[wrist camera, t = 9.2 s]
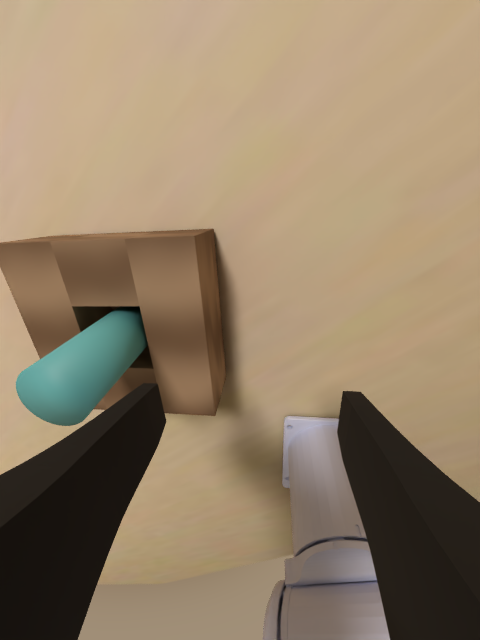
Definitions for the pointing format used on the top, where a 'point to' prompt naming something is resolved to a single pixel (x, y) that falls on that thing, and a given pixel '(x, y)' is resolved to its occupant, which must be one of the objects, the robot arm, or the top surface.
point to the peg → (83, 368)
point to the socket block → (129, 290)
